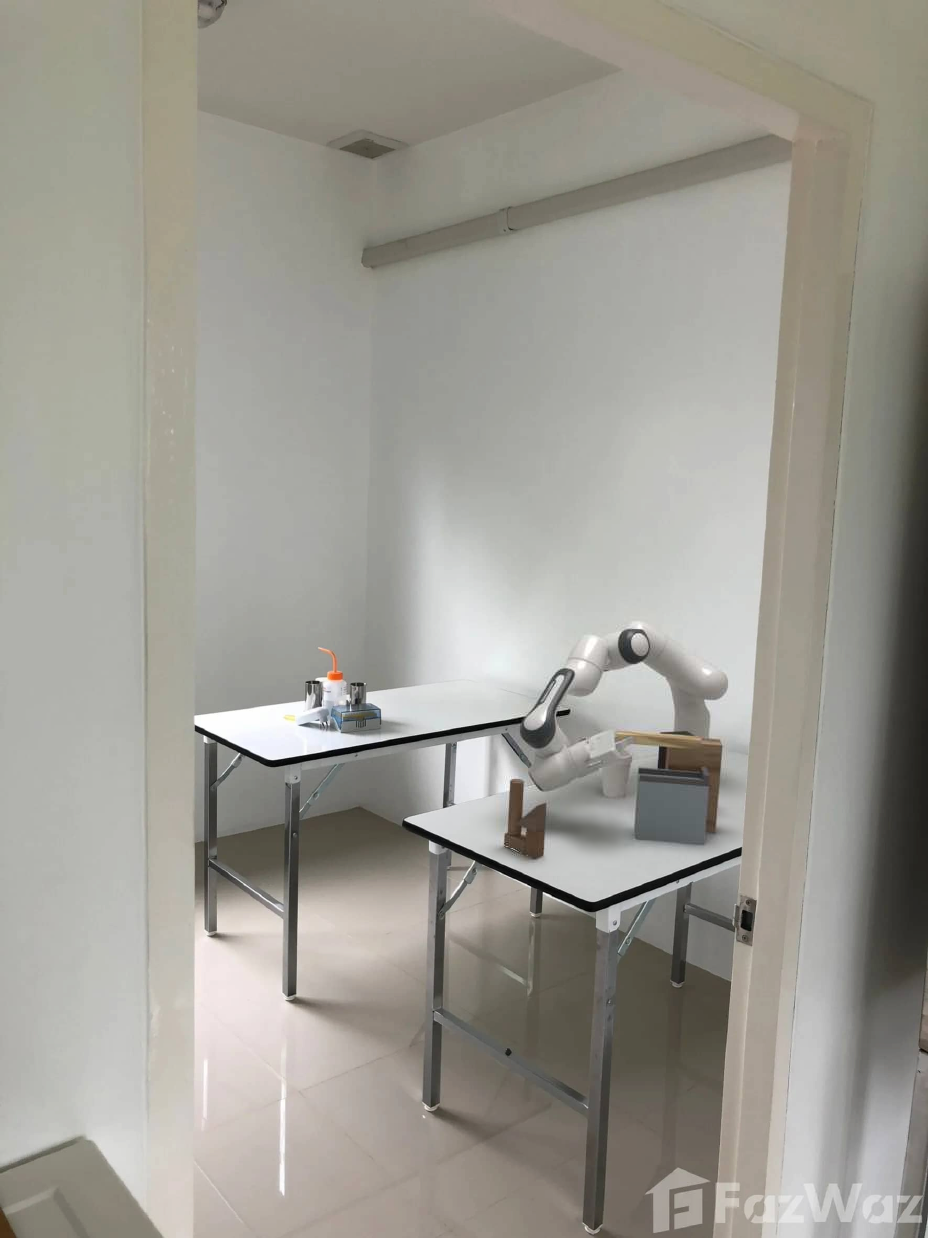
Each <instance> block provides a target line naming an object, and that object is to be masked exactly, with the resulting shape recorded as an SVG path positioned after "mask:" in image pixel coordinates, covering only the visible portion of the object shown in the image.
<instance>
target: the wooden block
mask: <svg viewBox="0 0 928 1238" xmlns="http://www.w3.org/2000/svg"><path fill="white" fill-rule="evenodd" d="M524 789H525V781H524V780H523V779H521V778H512V779H510V780H509V792H508V793H509V795H508V817H507V832H506V833H504V835H503V837H504V838H503V846H504V845H505V846H508V847H510V848H513V849H515V850H517V851H519V852H521V853H520V854H522V853H523V854H522V855H525V856H526V855H528V856H527V857H529V856H530V857H529V858H531V857H533V858H536V859H539V858H541V857H543V856H544V855H545V854H544V853H545V838H546V837H545V836H546V823H547V821H546V819H547V818H546V817H547V802H544V803H541V804H537V805H536V806H535V807H534V808H533V809H532V810H530V811H529V812H528V813H527V814H526V815H525V816H523V812H524V811H523V810H524ZM523 828H525V834H523V833H522V829H523ZM505 846H504V847H505ZM517 851H516V852H517ZM519 852H518V853H519ZM538 857H539V858H538ZM533 858H532V859H533Z"/></svg>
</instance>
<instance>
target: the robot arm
mask: <svg viewBox="0 0 928 1238" xmlns="http://www.w3.org/2000/svg"><path fill="white" fill-rule="evenodd" d="M640 663H644V665H646V666H648V667H649V668H650V669H652V670H653V671H655V672H656V673H658V674H659V675H661V676H662V677H664V678H665V680H666V681H667V683H668V685H669V687H670V691H671V697H672V701H673V707H674V719H673V720H674V721H673V725H674V726H673V732H676V731H687V732H689V733H691V734H693V735H695V736H698V737H700V738H708V739H711V738H710V730H711V729H710V728H711V726H710V725H711V712H710V711H709V709H708V707H707V705H706V702H705V700H706V701H717V700H720V699H721V698H722V697H724V695H725V694H726V693H727V691H728V688H729V679H728V677H727V675H726V673H725V672H723V671H722V670H721V669H719V668H718V667H716V666H715V665H714V664H712V663H710V662H708V661H707V660H705V659H704V658H702V657H701V656H699V655H697V654H695V653H694V651H693V652H692V651H691V650H689V649H687V648H685V647H684V646H682V645H681V644H679V643H678V642H676V641H675V640H674V639H672V638H671V637H669V636H668V635H667V634H665V633H664V632H663V631H661V630H659V629H658V628H656V627H655V626H653V625H651V624H649V623H647V622H644V621H642V620H634V621H631V622H629V623H628V624H627V625H626V626H625V627H624V629H623V630H619V631H613V632H610V633H608V634H605V635H603V636H599V635H597V634H585V635H583V636H582V637H580V638H579V639H578V641H577V642H576V644H575V645H574V647H573V648H572V650H571V651H570V653H569V654H568V657H567V660H566V661H565V663H564V666H563V667H562V668H560V669H558V670H557V671H556V672H555V673H554V675H552V677H551V679H550V680H549V682H548V683H547V685H546V687H545V688H544V689H543V692H542V693H541V695H540V696H539V698H538V699H537V702H536V703H535V704H534V706H533V708H531V710H530V711H529V712H527V714H526V715H525V717H524V718H523V719H522V721H521V724H520V727H519V734H520V736H521V737H520V738H521V739H522V740H523V741H524V742H525V743H526V744H527V745H528V746H529V747H530V748H531V749H532V750H533V752H534V754H533V760H532V762H531V763H532V764H531V766H530V767H529V768H528V771H527V772H528V775H529V777H530V780H531V781H532V782H533V783H534V785H535V787H536V788H537V789H538V790H539V791H541V792H546V793H547V792H551V791H552V792H553V791H554V790H557V789H560V788H562V787H564V786H567V785H568V784H571V783H572V782H573V781H574V780H576V779H581V778H584V777H587V776H589V775H591V774H594V773H595V772H597V771H599V770H600V769H602V767H605V766H608V765H610V764H613V763H615V762H617V761H618V760H620V751H621V750H626V748H627V747H629V746H631V745H633V744H632V743H634V739H633V737H632V736H629V737H626V739H624V740H622V741H619V742H617V743H616V734H617V732H616V731H615V730H614V729H608V730H604V731H602V732H599V733H596V734H594V735H592V736H590V737H589V738H588V736H586V737H583V738H581V739H580V740H579V741H578V742H577V743H575V744H574V745H571V743H570V740H569V739H568V737H567V736H566V734H565V733H564V731H563V730H562V728H560V726H559V725H558V721H557V713H558V711H559V709H560V708H561V706H562V704H563V702H564V701H565V698H566V697H567V695H569V696H573V697H577V698H578V697H579V698H580V697H581V698H582V697H587V696H590V695H591V694H593V693H594V692H595V690H596V689H597V688H598V686H599V683H600V681H601V679H602V676H603V674H604V672H610V671H616V670H617V671H618V670H622V669H624V668H627V667H630V666H632V665H637V664H640Z"/></svg>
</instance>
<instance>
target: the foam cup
mask: <svg viewBox="0 0 928 1238" xmlns="http://www.w3.org/2000/svg"><path fill="white" fill-rule="evenodd" d="M632 763H633V754H632V752H631V751H629V750H627V749H623V750H621V751H620V760H618V761H617V762H615V763H613V764H610V765H608V766H605V767H602V768H601V777H602V779H601V783H602V791H603V792H602V794H603V795H604V796H605V797H607V798H613V799H615V798H616V799H619V798H623V797H624V796H625V794H626V790H627V789H626V788H627V785H628V780H629V776H630V775H629V774H630V770H631V766H632Z"/></svg>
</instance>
